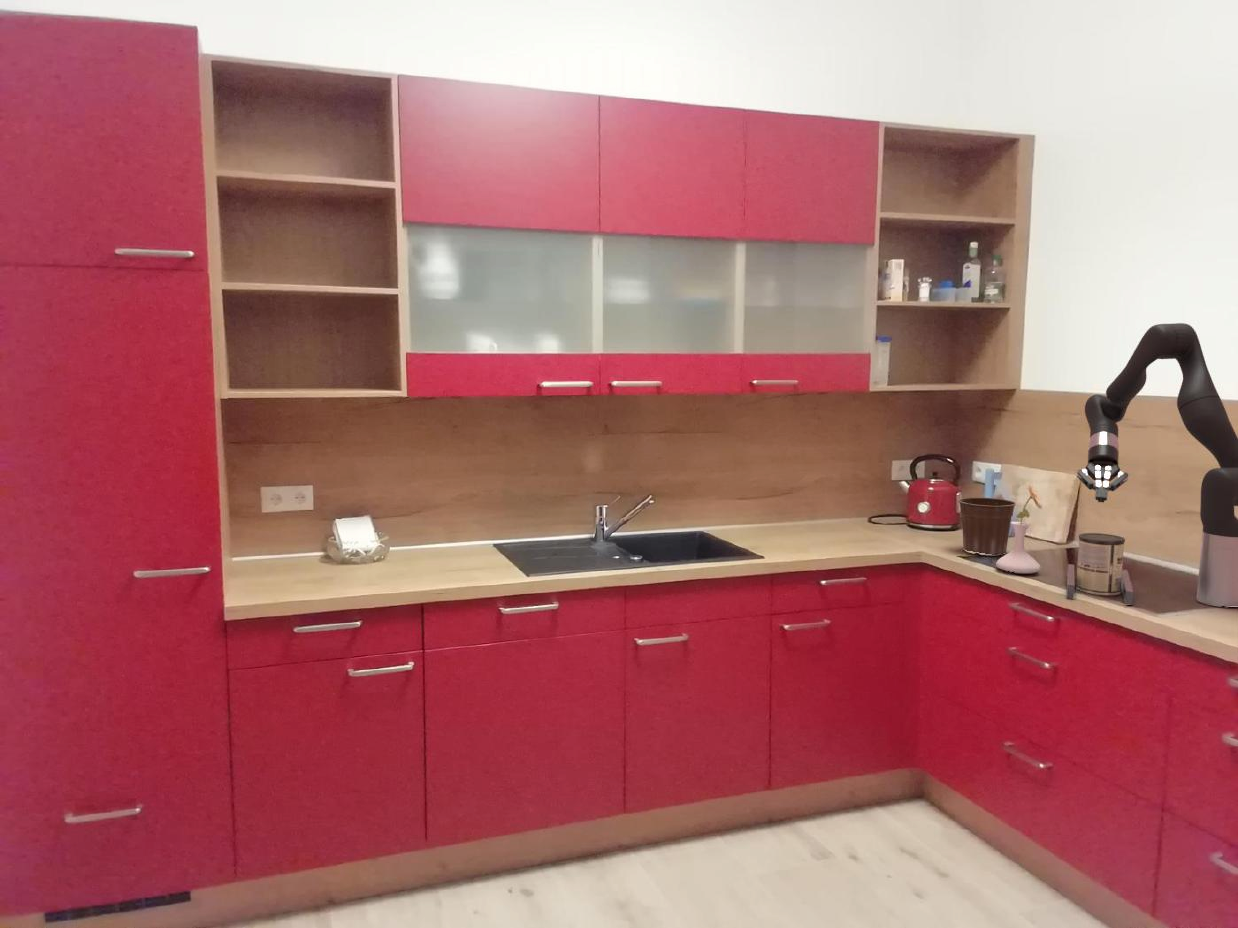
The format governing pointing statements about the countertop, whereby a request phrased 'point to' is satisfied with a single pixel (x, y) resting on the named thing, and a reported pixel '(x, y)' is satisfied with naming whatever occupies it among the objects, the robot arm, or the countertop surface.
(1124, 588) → the grey frame
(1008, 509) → the plant pot
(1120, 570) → the coffee can
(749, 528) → the countertop surface
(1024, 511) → the flower in vase
